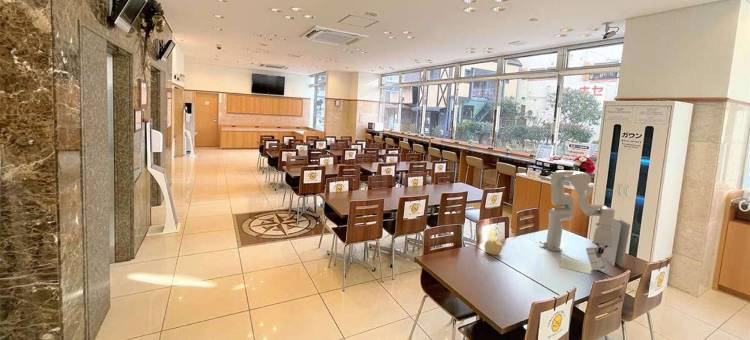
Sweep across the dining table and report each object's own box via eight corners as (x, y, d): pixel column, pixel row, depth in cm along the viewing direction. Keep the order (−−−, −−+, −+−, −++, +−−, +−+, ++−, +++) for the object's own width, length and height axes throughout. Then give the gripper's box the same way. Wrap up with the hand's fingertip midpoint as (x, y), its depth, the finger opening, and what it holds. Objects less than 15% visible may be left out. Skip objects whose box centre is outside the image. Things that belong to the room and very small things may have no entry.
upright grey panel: (622, 267, 243) (630, 224, 238) (613, 266, 244) (621, 223, 239) (613, 259, 257) (620, 218, 252) (605, 258, 258) (611, 218, 253)
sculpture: (503, 257, 249) (504, 242, 247) (485, 255, 250) (486, 240, 249) (500, 251, 260) (501, 237, 258) (483, 249, 262) (484, 235, 260)
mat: (559, 266, 238) (559, 266, 238) (563, 257, 254) (563, 257, 254) (590, 274, 228) (590, 274, 228) (592, 264, 245) (592, 264, 245)
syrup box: (600, 269, 230) (594, 247, 234) (591, 270, 236) (585, 247, 239) (605, 268, 233) (599, 246, 236) (596, 269, 238) (590, 246, 242)
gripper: (591, 225, 231) (586, 252, 234) (618, 230, 223) (614, 258, 226) (591, 222, 237) (587, 249, 240) (618, 227, 229) (614, 255, 232)
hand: (600, 253), depth 233 cm, fingers closed
